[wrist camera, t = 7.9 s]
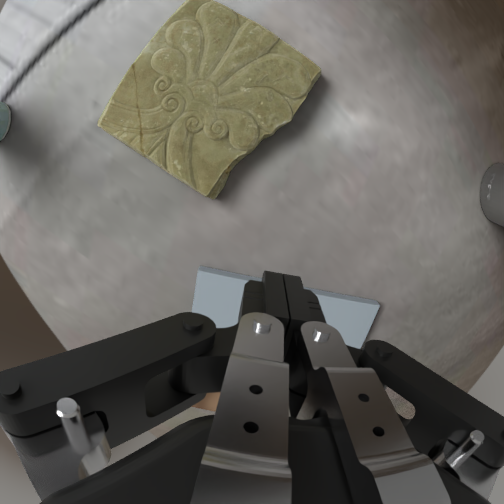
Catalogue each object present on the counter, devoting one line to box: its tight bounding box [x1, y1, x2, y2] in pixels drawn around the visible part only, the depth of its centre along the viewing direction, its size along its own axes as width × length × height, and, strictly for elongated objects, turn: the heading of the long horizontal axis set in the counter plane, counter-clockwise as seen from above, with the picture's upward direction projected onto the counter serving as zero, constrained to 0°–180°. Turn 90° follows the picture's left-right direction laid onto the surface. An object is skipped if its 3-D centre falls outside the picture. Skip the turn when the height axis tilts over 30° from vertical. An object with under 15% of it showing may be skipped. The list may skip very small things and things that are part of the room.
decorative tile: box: [98, 0, 321, 199], centre depth 29 cm, size 19×20×4 cm
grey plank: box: [192, 266, 380, 349], centre depth 39 cm, size 24×14×2 cm, turn 78°
